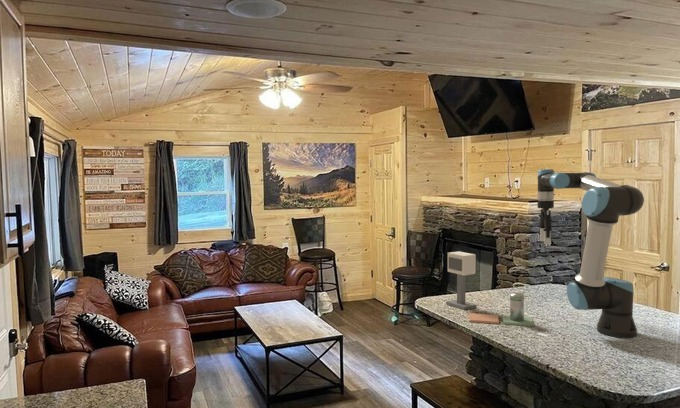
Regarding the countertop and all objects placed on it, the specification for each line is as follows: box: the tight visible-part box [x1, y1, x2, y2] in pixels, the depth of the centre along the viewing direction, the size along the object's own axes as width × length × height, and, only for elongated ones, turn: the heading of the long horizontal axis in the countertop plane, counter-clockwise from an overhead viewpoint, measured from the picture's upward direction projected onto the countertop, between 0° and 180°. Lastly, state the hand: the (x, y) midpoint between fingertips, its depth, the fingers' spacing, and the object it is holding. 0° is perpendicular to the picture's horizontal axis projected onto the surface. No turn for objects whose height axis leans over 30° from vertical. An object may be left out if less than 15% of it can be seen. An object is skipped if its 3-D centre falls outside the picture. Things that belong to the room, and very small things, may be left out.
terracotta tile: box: [469, 312, 500, 325], centre depth 235 cm, size 11×13×1 cm
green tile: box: [501, 315, 535, 327], centre depth 231 cm, size 11×13×1 cm
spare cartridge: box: [509, 291, 525, 321], centre depth 231 cm, size 6×6×12 cm
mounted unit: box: [445, 251, 478, 311], centre depth 258 cm, size 9×13×28 cm
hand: (545, 242), depth 248 cm, fingers open, 13 cm apart
